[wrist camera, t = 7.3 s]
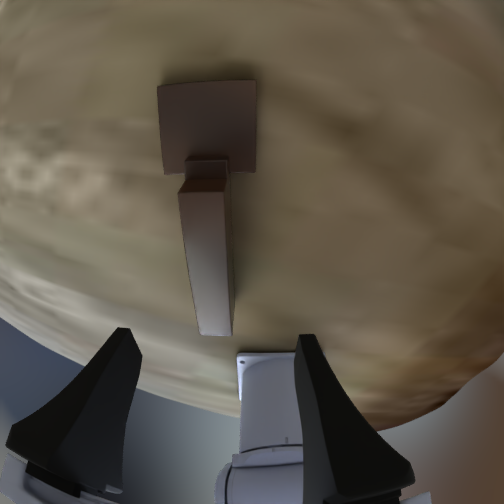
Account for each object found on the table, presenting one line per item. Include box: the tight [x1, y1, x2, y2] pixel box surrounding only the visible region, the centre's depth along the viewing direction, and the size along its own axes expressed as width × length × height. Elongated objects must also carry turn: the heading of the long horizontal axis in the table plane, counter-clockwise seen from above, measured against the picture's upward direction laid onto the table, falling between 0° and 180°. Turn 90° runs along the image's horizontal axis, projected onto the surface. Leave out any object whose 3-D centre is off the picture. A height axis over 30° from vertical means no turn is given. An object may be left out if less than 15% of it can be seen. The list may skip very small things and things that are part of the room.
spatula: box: [157, 80, 257, 336], centre depth 15 cm, size 15×5×3 cm, turn 0°
